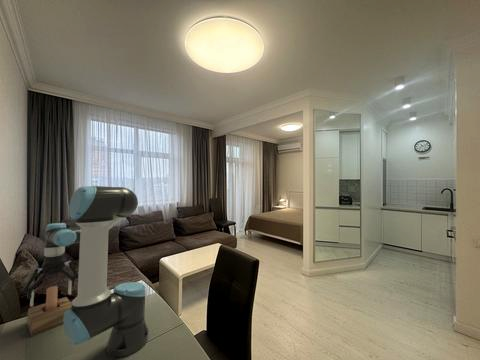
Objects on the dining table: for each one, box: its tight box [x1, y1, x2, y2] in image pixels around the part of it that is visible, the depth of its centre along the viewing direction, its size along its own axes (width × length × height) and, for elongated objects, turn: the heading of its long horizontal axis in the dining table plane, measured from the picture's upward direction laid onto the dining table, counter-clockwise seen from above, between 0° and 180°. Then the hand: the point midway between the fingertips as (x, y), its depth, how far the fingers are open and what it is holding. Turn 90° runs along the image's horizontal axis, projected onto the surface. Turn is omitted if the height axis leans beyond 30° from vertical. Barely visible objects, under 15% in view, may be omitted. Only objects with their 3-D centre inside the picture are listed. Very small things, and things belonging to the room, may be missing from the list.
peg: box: [45, 285, 59, 311], centre depth 96 cm, size 4×4×15 cm
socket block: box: [26, 296, 72, 338], centre depth 95 cm, size 14×14×7 cm
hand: (51, 299), depth 96 cm, fingers open, 13 cm apart
